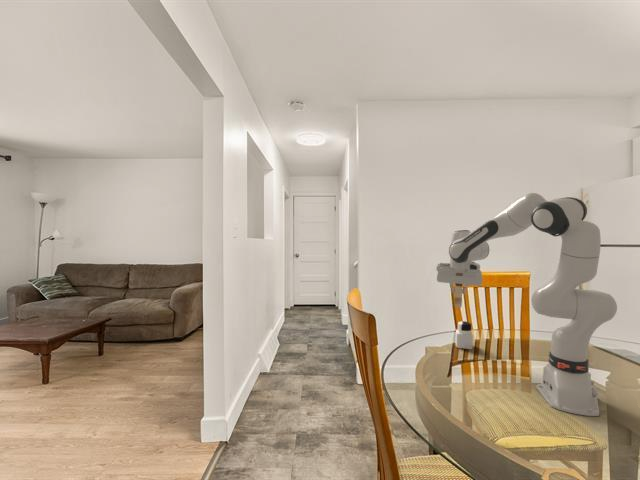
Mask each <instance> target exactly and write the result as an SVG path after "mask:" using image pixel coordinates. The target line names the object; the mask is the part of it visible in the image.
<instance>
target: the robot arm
mask: <svg viewBox="0 0 640 480" xmlns="http://www.w3.org/2000/svg"><path fill="white" fill-rule="evenodd" d="M587 215H588V207H587V206H586V204H585V202H584V201H583V200H581V199H579V198H576V197H560V198H554V199H550V200H546V199H545V198H544V196H542V195H540V194H538V193H536V192H529V193H527V194H525V195H522V196H521V197H519V198H517V199H516V200H514V201H513V202H512V203H510V204H509V205H507V206H506V208H504V209H503V210H502V211H500V212H499V213H498V214H496V215H495V216H494V217H492V218H491V219H489V220H488V221H486V222H484V223H483V224H482V225H479V226H478V227H477V228H475V229H474V230H472V231H470V230H468V229H464V230H455V231H454V232H453V233H452V235H451V239H450V245H449V247H448V254H449V263H448V262H446V263H444V262H440V263H437V264H436V271H437V274H436V281H437V282H438V283H445V284H449V286H450V288H451V293H454V294H455V287H454V284H456V283H457V284H462V285H464V288H462V295H465V294H466V290H467V289H468V288H469V286H477V287H478V286H482V285H483V274H482V270H481V264H480V263H477V262H476V261H482V260H485V259H486V258H487V257H489V254H490V245H489V244H488V241H490V240H494V239H499V238H506V237H510V236H511V237H513V236H516V235H518V234H520V233H522V232H524V231H525V230H527V229H528V228H529V227H531V226H533V227H534V228H536V229H537V230H538V231H540V232H542V233H547V234H549V235H550V236H553V237H561V246H560V247H561V249H560V255H559V262H558V265H557V269H556V272H555V274H554V276H553V277H551V279H550V280H549V281H547V283H545V284H544V285H542V286H541V287H538V288H537V289H535V291H534V292H533V293H532V295H531V300H530V302H531V306H532V308H533V310H534V312H535V313H537V315H538V314H539V315H541V316H545V317H549V318H556V319H567V320H570V322H569V323H567V324H566V325H564V326H563V325H562V326H560V327H559V328H556V329H555V330H553V332H552V334H551V345H550V351H549V354H548V364H546V365H544V366H543V370H542V376H541V377H542V378H541V383H537V384H536V386H535V387H536V389H537V391H538V392H539V393H540V394H541V396H542V397H543V398H544V399H545V402H547V403H548V405H549V406H550V407H551V408H554V409H555V410H559V411H562V412H566V413H570V414H575V415H581V416H587V417H598V416H600V408H599V402H598V389H597V388H593V387H592V386H594V385H595V381H594V380H592V374H591V373H590V372H589V367H590V365H589V359H588V353H589V347H590V340H591V338H592V336H593V334H594V333H595V332H596V330H597V329H598V328H599V327H600V326H601V325H603V324H605V323H607V322H608V321H611V320H612V319H613V318H614V317H615V316H616V314H617V311H618V305H617V302H616V300H615V298H614V297H613V296H612V295H611V294H610V293H606V292H603V291H598V290H593V289H582V288H581V289H580V288H578V287H579V286H580V285H583V284H585V283H586V284H587V283H588V282H590V281H592V280H593V279H594V278H595V277H596V276H597V273H598V267H599V261H600V260H599V259H600V253H601V230H600V228H599V226H597V224H595V223H593V222H591V221H588V220H587V221H586V220H585V219H586V217H587ZM456 273H463V276H456Z"/></svg>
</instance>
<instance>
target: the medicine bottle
mask: <svg viewBox="0 0 640 480" xmlns="http://www.w3.org/2000/svg"><path fill="white" fill-rule="evenodd" d="M473 338H474V335H473V332H472V324H471V323H470V322H468V321H465V320H464V321H462V320H461V321H458V322H457V328H456V329H455V347H458V348H457V349H462V348H463V350H471V349H472V350H473V341H474V339H473Z"/></svg>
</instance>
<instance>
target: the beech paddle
mask: <svg viewBox="0 0 640 480" xmlns="http://www.w3.org/2000/svg"><path fill="white" fill-rule="evenodd" d="M456 276H463V273H456ZM454 288H455V293H454V305H453V306H454V307H455V308H462V305H463V304H462V303H463V293H462V289H463V284H457V283H456V284H455V285H454Z"/></svg>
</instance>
